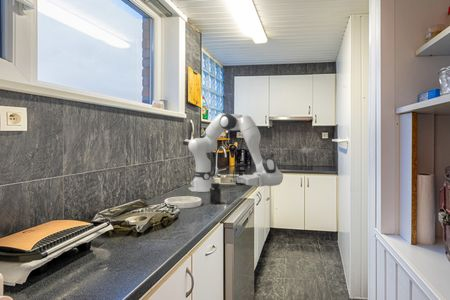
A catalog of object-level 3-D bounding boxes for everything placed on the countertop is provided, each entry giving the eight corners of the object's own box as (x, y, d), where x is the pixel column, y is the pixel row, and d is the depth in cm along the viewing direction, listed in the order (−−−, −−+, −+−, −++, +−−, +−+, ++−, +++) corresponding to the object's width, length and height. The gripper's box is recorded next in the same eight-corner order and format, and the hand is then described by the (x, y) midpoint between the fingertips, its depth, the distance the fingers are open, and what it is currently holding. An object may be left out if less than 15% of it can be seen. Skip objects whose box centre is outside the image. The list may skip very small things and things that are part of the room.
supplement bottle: (207, 202, 197) (207, 183, 197) (216, 201, 202) (216, 182, 201) (213, 204, 192) (213, 184, 191) (223, 203, 196) (223, 183, 196)
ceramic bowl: (160, 203, 197) (160, 198, 197) (193, 199, 207) (193, 195, 207) (171, 209, 179) (171, 204, 179) (206, 206, 188) (206, 200, 188)
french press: (248, 183, 278) (248, 156, 277) (246, 185, 269) (246, 157, 268) (234, 183, 281) (234, 156, 280) (232, 184, 271) (232, 157, 270)
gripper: (252, 172, 211) (231, 173, 209) (262, 176, 191) (239, 176, 189) (252, 182, 212) (231, 183, 209) (262, 186, 192) (239, 187, 189)
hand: (235, 180), depth 199 cm, fingers open, 8 cm apart
